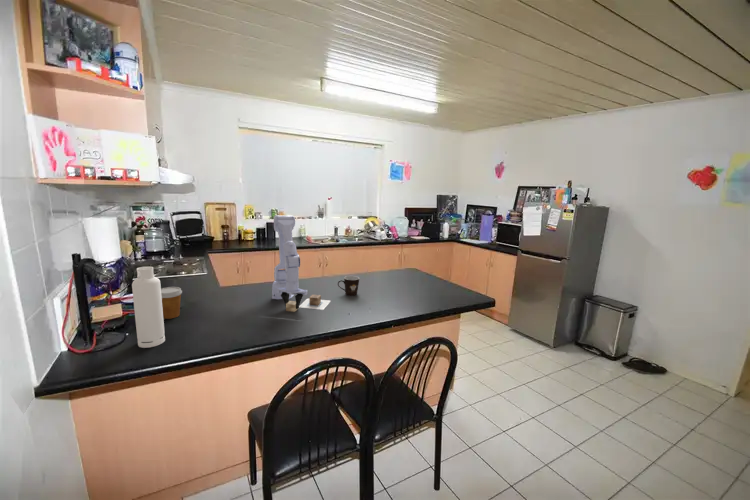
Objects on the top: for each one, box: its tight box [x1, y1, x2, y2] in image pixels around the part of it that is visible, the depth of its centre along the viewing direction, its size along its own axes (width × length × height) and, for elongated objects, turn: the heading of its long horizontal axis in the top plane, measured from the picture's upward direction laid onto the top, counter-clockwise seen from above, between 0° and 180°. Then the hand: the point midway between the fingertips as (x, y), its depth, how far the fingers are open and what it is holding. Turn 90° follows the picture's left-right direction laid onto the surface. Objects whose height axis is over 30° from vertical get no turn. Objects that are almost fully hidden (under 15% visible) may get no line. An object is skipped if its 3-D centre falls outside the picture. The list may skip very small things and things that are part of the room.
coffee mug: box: [337, 275, 360, 297], centre depth 175 cm, size 12×9×10 cm
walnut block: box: [309, 294, 322, 306], centre depth 157 cm, size 4×4×4 cm
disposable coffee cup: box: [161, 286, 183, 320], centre depth 135 cm, size 10×10×12 cm
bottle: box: [131, 266, 166, 349], centre depth 111 cm, size 8×8×28 cm
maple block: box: [285, 300, 298, 313], centre depth 149 cm, size 4×4×4 cm
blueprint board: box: [299, 298, 331, 311], centre depth 158 cm, size 13×13×1 cm
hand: (292, 307), depth 149 cm, fingers closed on maple block, 4 cm apart
